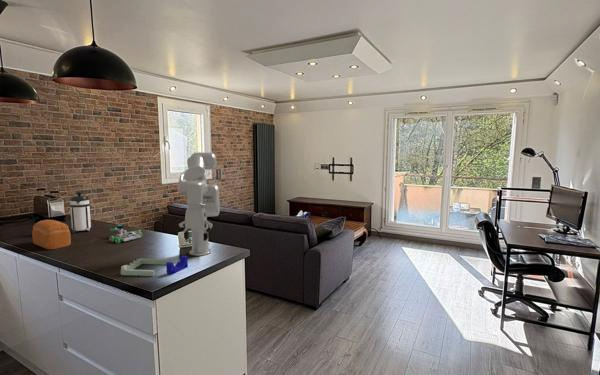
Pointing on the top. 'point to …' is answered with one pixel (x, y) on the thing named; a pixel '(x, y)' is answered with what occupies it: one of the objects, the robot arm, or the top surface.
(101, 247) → the top surface
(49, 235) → the bread
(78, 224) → the coffee press
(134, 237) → the robot kit
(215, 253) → the top surface
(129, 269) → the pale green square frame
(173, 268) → the cable clip
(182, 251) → the top surface
